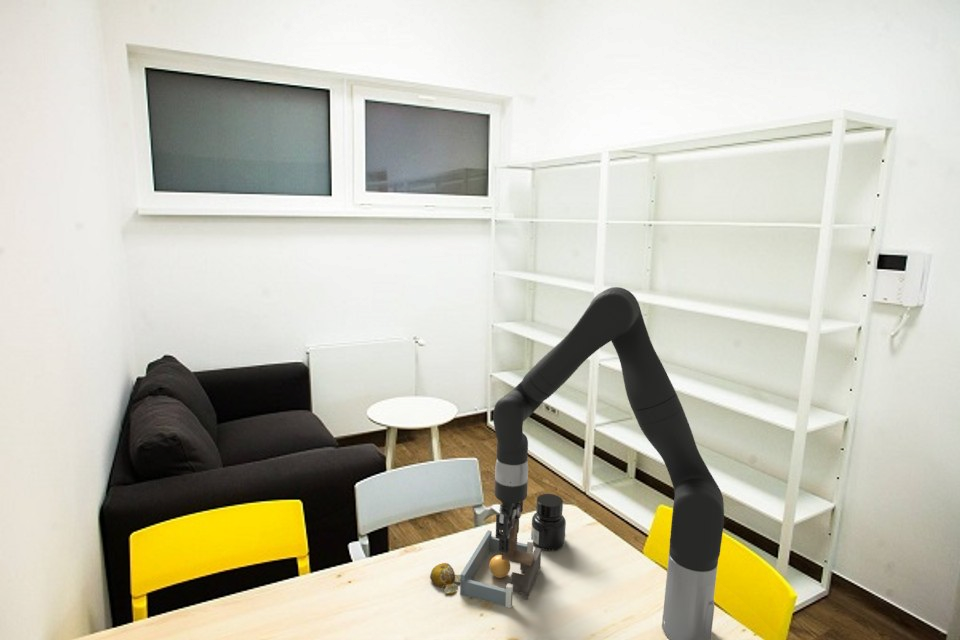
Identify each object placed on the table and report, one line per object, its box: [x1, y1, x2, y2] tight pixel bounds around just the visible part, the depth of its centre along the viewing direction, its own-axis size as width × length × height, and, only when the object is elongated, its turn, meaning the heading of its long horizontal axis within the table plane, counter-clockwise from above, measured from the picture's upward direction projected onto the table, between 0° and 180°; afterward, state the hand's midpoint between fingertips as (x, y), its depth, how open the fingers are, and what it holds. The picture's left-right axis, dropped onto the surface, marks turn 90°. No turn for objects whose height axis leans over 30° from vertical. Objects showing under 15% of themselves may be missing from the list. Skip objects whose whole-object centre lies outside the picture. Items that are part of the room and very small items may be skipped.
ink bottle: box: [530, 493, 567, 552], centre depth 143 cm, size 10×9×12 cm
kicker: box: [501, 519, 542, 600], centre depth 127 cm, size 8×12×14 cm, turn 160°
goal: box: [459, 529, 534, 609], centre depth 129 cm, size 12×19×5 cm, turn 160°
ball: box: [488, 554, 511, 579], centre depth 129 cm, size 5×5×5 cm
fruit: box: [429, 562, 460, 596], centre depth 127 cm, size 8×8×4 cm
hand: (509, 541), depth 127 cm, fingers open, 7 cm apart
